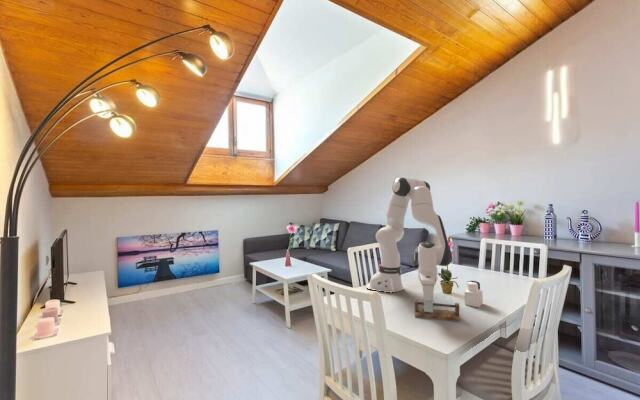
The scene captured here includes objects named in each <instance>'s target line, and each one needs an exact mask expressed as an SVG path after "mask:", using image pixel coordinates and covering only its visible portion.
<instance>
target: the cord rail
mask: <svg viewBox="0 0 640 400" xmlns="http://www.w3.org/2000/svg"><path fill="white" fill-rule="evenodd" d="M419 305H421V306H424V301H419V300H418V299H415V300H414V317H415V318H419V317H420V318H421V319H429V320H431V319H432V320H441V321H449V322H451V321H452V322H461V317H460V303H458V302H456V303H454V304H450V303H449V304H446V303H437V302H436V303H435V302H433V307H444V308H454V310H449V309H442V310H441V309H436V308H435V309H434V308H433V312H424V307H423V308H422V307H419Z"/></svg>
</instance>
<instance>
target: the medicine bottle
mask: <svg viewBox="0 0 640 400" xmlns="http://www.w3.org/2000/svg"><path fill="white" fill-rule="evenodd" d="M483 301H484V300H483V290H482V289H481V284H480V282H478V281H477V280H469V281H467V283H466V290H465V291H464V305H465V306H470V307H474V308H480V307H481V306H482V305H483Z"/></svg>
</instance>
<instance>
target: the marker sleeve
mask: <svg viewBox="0 0 640 400" xmlns="http://www.w3.org/2000/svg"><path fill="white" fill-rule="evenodd" d="M423 302H424V305H423V308H424V312H433V309H434V306H433V303H434V300H433V301H431V303H430V307H427V306H426V301H425V300H424V299H423Z"/></svg>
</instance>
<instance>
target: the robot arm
mask: <svg viewBox="0 0 640 400" xmlns="http://www.w3.org/2000/svg"><path fill="white" fill-rule="evenodd" d="M410 200H411V202H410ZM409 203H411V205H410V206H411V209H410V210H411V214H412V217H413V219H414V220H415V221H417V222H419V223H420V224H423V225H426V226H429V227H431V228H433V230H434V231H435V233H436V237H437V240H438V244H439V245H436V244H435V243H434V242H431V241H421V242H420V243H419V245H418V246H416V247H415V248H414V249H413V254H414V255H413V261H414V262H415V263H416V264H417V265H418V270H417V272H418V273H417V274H418V276H417V277H418V280H419V281H420V285H421V287H422V288H421V289H422V295H423V301H424V300H425V301H426V306H427V307H430V303H431V301H433V302H434V300H433V299H434V290H435V285H436V283H437V281H438V274H439V273H438V267H437V266H441V267H447V266H449V265H450V264H452V262H453V253H452V250H451V248H450V245H449V241H448V237H447V233H446V230H445V227H444V223H443V220H442V218H441V215H438V214H437V212H436V211H435V209H434V204H433V196H432V192H431V185H430V183H428V182H427V181H425V180H420V179H418V178H417V179H416V178H407V177H397V178H396V179H395V180H394V181H393V183H392V193H391V195H390V199H389V202H388V206H387V210H386V213H385V215H386V225H385V226H384V227H381V228H380V229H378V230H377V232H376V233H375V241H376V242H377V243H378V244H379V245H378V246H379V248H380V255H381V264H378V271H377V272H376V273H374V274H372V276H371V277H370V281H369V283H367V284H366V285H365V287H366V289H367V288H368V289H375V290H378V291H377V292H379V290H380V291H384V292H383V293H386V292H390V293H389V294H392V292H393V293H396V292H397V293H398V292H401V291H403V290H404V286H403V283H402V282H403V281H402V266H401V253H400V252H399V250H398V246H397V243H398V242H400V241H401V240H402V239H403V237H404V236H405V230H404V227H405V217H406V214H407V210H408V208H409V207H408V206H409Z"/></svg>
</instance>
